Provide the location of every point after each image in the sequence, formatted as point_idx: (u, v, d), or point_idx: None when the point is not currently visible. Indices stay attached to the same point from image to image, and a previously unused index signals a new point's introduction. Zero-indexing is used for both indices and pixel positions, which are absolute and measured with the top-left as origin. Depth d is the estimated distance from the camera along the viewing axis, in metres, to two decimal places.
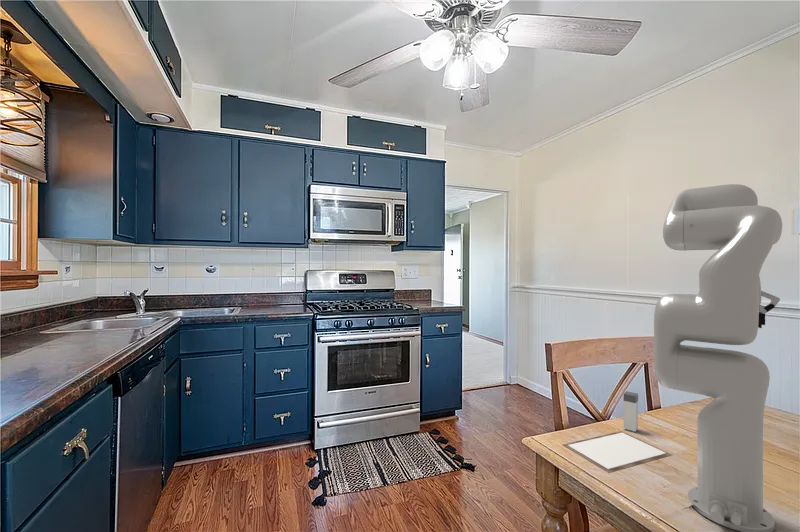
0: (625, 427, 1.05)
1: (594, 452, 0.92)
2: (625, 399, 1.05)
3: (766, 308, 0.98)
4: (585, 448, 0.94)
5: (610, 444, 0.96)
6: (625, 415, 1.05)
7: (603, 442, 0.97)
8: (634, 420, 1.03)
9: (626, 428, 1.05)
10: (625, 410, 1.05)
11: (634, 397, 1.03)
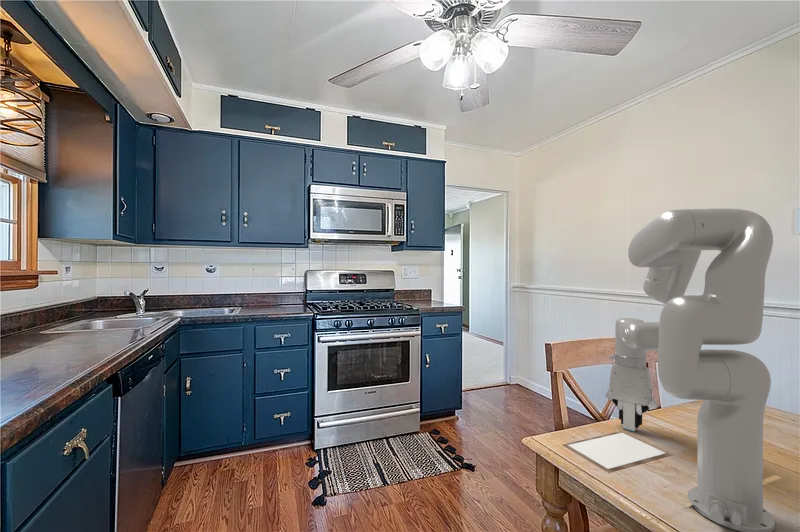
0: (624, 426, 1.05)
1: (594, 452, 0.92)
2: None
3: (643, 411, 1.02)
4: (585, 448, 0.94)
5: (610, 444, 0.96)
6: (624, 414, 1.05)
7: (603, 442, 0.97)
8: (633, 419, 1.03)
9: (625, 427, 1.05)
10: (624, 409, 1.05)
11: None
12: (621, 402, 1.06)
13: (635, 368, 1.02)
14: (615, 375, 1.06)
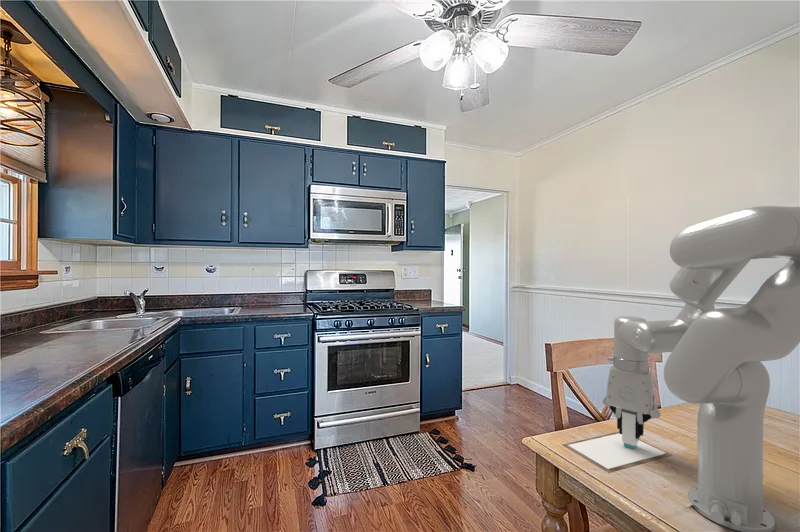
0: (624, 441, 0.94)
1: (594, 452, 0.92)
2: (624, 410, 0.94)
3: (645, 420, 0.92)
4: (585, 448, 0.94)
5: (610, 444, 0.96)
6: (624, 428, 0.94)
7: (603, 442, 0.97)
8: (634, 433, 0.93)
9: (625, 442, 0.94)
10: (624, 422, 0.94)
11: None
12: (620, 409, 0.95)
13: (635, 372, 0.91)
14: (613, 379, 0.95)
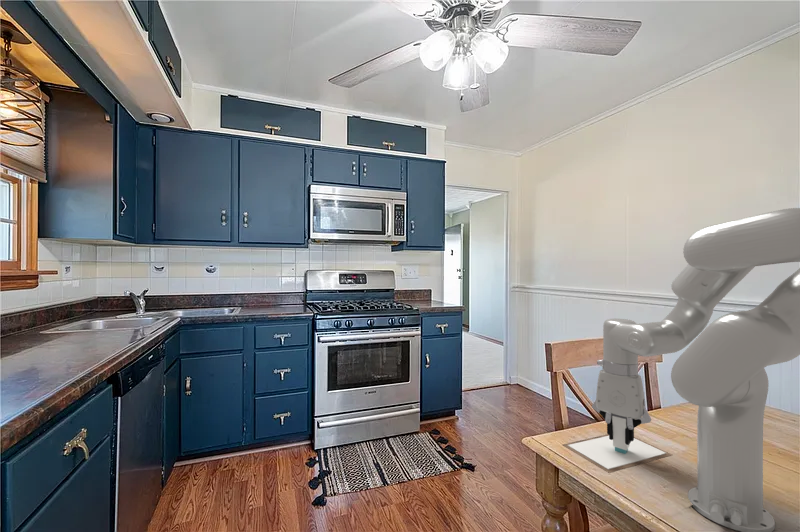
0: (615, 445, 0.92)
1: (594, 452, 0.92)
2: (614, 414, 0.92)
3: (635, 426, 0.89)
4: (585, 448, 0.94)
5: (610, 444, 0.96)
6: (614, 432, 0.92)
7: (603, 442, 0.97)
8: (624, 438, 0.91)
9: (616, 446, 0.92)
10: (614, 426, 0.92)
11: None
12: (609, 414, 0.93)
13: (625, 376, 0.89)
14: (602, 383, 0.93)
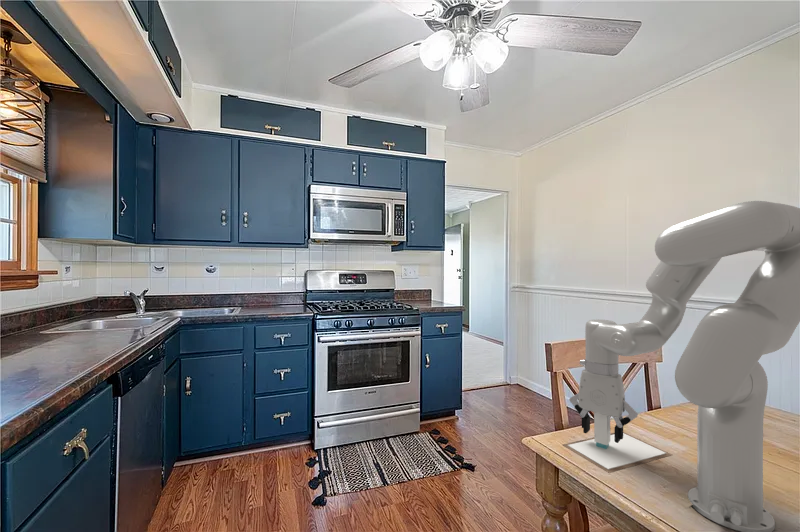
0: (596, 440, 0.95)
1: (594, 452, 0.92)
2: None
3: (623, 422, 0.90)
4: (585, 448, 0.94)
5: (610, 444, 0.96)
6: (596, 427, 0.95)
7: None
8: (605, 433, 0.93)
9: (597, 441, 0.95)
10: (596, 422, 0.95)
11: None
12: (586, 410, 0.96)
13: (606, 375, 0.91)
14: (584, 383, 0.95)
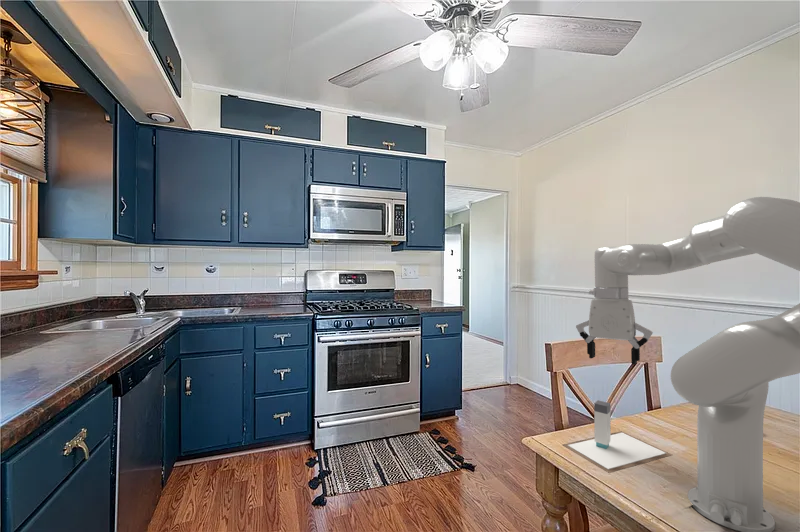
0: (596, 440, 0.95)
1: (594, 452, 0.92)
2: (596, 409, 0.95)
3: (639, 342, 0.90)
4: (585, 448, 0.94)
5: (610, 444, 0.96)
6: (596, 427, 0.95)
7: None
8: (605, 433, 0.93)
9: (597, 441, 0.95)
10: (596, 421, 0.95)
11: (605, 407, 0.93)
12: (593, 337, 0.96)
13: (616, 299, 0.91)
14: (595, 310, 0.95)
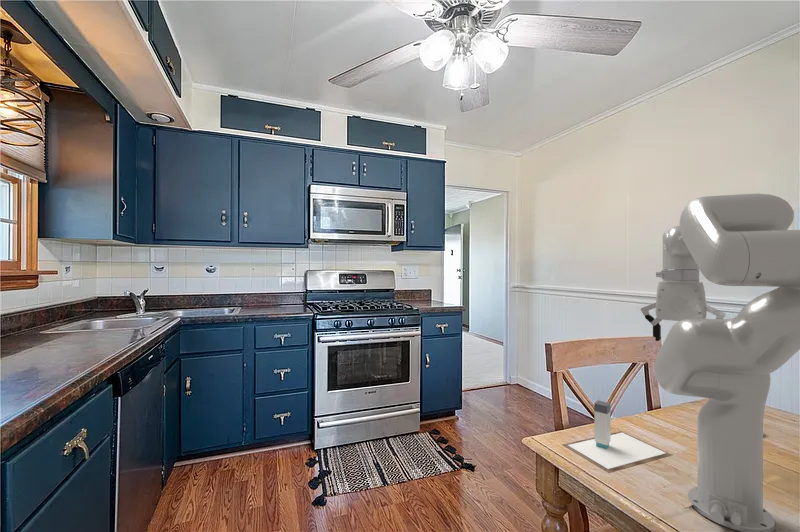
0: (596, 440, 0.95)
1: (594, 452, 0.92)
2: (596, 409, 0.95)
3: None
4: (585, 448, 0.94)
5: (610, 444, 0.96)
6: (596, 427, 0.95)
7: None
8: (605, 433, 0.93)
9: (597, 441, 0.95)
10: (596, 421, 0.95)
11: (605, 407, 0.93)
12: (660, 319, 0.96)
13: (688, 281, 0.90)
14: (663, 292, 0.94)
